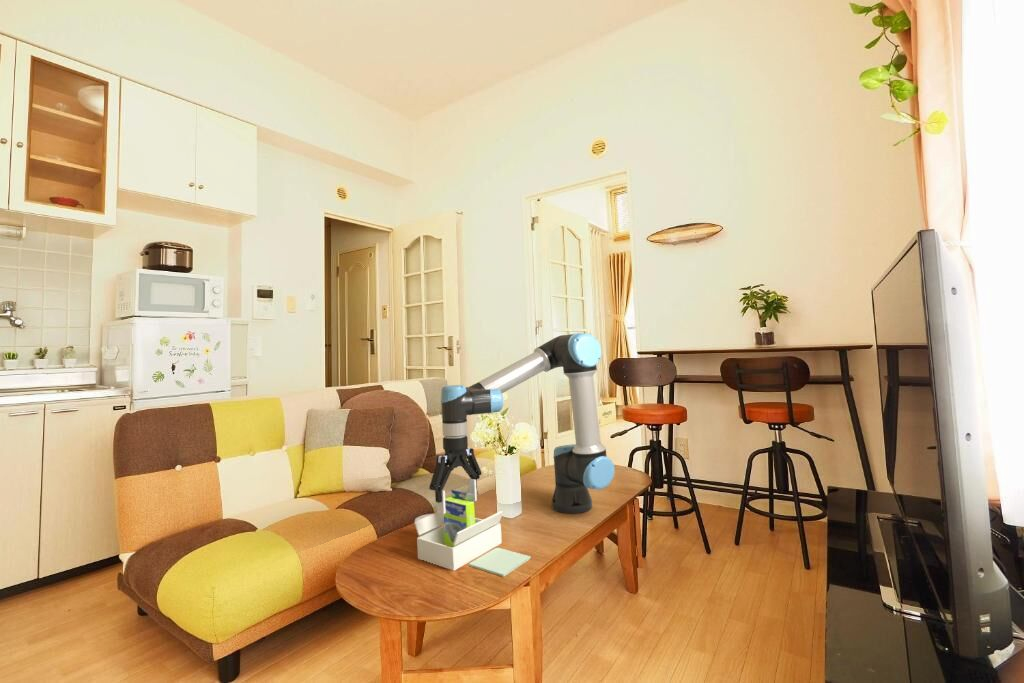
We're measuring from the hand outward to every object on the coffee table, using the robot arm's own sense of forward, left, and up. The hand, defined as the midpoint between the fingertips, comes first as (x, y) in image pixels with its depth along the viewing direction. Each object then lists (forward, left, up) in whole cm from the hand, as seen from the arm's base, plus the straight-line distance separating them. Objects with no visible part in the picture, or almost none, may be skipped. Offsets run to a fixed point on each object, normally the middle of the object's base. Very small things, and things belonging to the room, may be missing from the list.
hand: (457, 506), depth 140 cm
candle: (-2, -16, -14) cm, 21 cm away
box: (0, 0, -14) cm, 14 cm away
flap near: (0, +7, -7) cm, 10 cm away
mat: (0, +15, -13) cm, 20 cm away
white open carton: (0, 0, -13) cm, 13 cm away
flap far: (0, -7, -7) cm, 10 cm away
